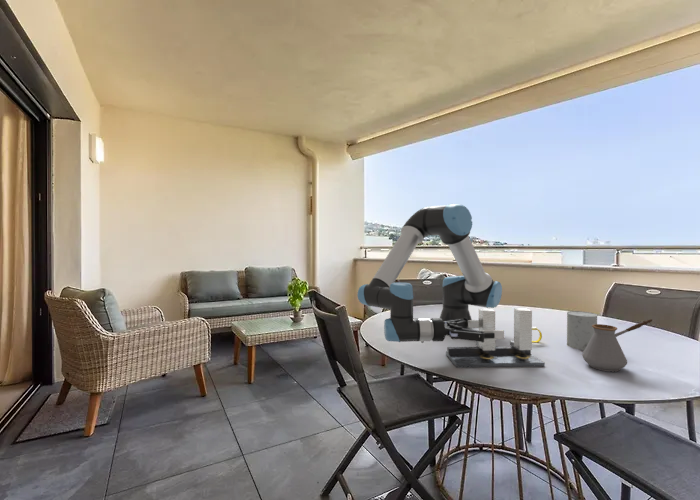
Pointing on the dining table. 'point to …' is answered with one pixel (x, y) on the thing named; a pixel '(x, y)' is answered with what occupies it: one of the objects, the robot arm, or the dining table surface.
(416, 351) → the dining table surface
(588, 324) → the grey concrete cylinder
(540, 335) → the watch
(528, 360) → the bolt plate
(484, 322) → the block
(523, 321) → the fixed leg
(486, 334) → the robot arm
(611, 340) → the coffee pot
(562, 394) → the dining table surface
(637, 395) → the dining table surface
